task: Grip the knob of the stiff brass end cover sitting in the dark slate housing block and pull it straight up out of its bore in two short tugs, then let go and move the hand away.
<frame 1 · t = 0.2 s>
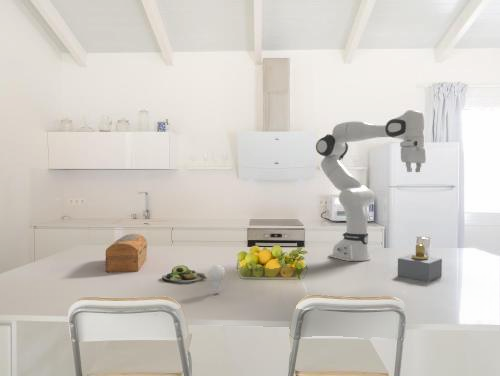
hand: (413, 172, 194), 47 cm above the worktop, tool pointing down, fingers open, 8 cm apart
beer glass: (422, 268, 197), on the worktop
lightbulb: (216, 294, 152), on the worktop
salad plate: (183, 279, 175), on the worktop
wooden box: (126, 265, 200), on the worktop
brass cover: (419, 260, 180), point 7 cm above the worktop, slide at 0.0 cm
slate housing: (419, 276, 180), on the worktop
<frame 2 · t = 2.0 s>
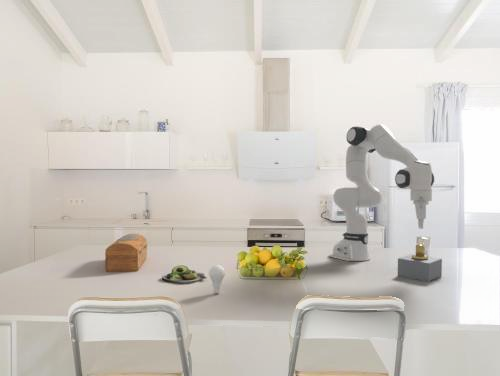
hand: (420, 227, 179), 22 cm above the worktop, tool pointing down, fingers open, 8 cm apart
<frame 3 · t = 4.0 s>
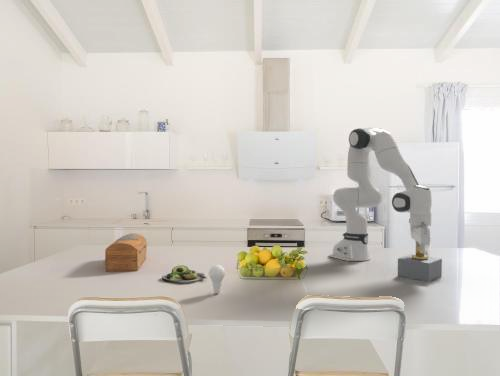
hand: (419, 251, 179), 11 cm above the worktop, tool pointing down, fingers closed on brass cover, 4 cm apart
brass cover: (419, 260, 180), point 7 cm above the worktop, slide at 0.0 cm, touching gripper
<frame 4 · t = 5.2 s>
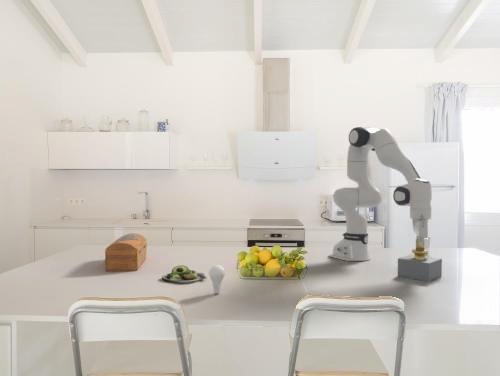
hand: (419, 245, 179), 14 cm above the worktop, tool pointing down, fingers closed on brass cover, 4 cm apart
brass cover: (419, 254, 180), point 10 cm above the worktop, slide at 2.5 cm, touching gripper
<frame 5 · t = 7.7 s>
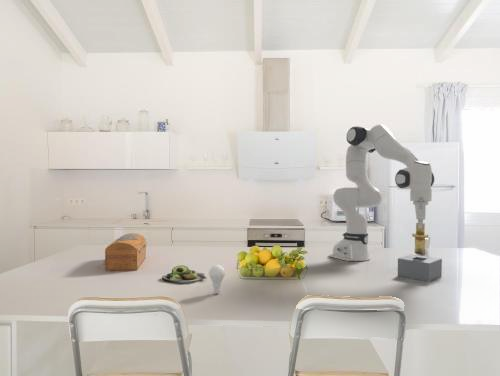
hand: (420, 227, 179), 22 cm above the worktop, tool pointing down, fingers closed on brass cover, 4 cm apart
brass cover: (420, 238, 179), point 17 cm above the worktop, slide at 9.9 cm, touching gripper
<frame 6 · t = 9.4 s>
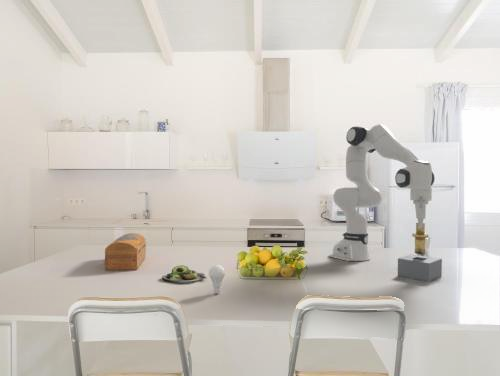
hand: (420, 227, 179), 22 cm above the worktop, tool pointing down, fingers open, 8 cm apart
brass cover: (420, 238, 179), point 17 cm above the worktop, slide at 9.9 cm
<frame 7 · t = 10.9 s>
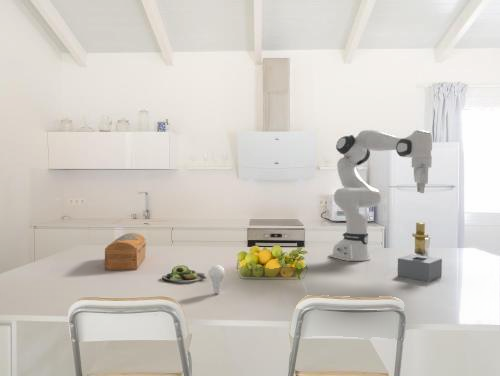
hand: (420, 192, 192), 37 cm above the worktop, tool pointing down, fingers open, 8 cm apart
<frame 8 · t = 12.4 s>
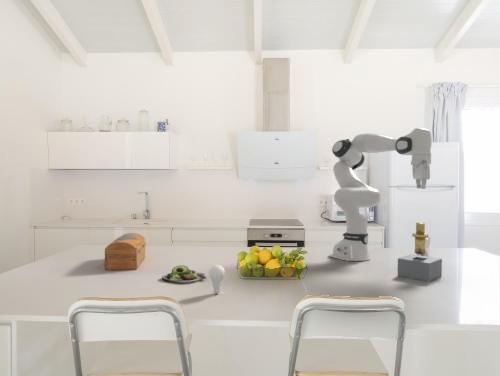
hand: (420, 188, 198), 39 cm above the worktop, tool pointing down, fingers open, 8 cm apart
at the end: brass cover slide at 9.9 cm; the gripper is holding nothing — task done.
